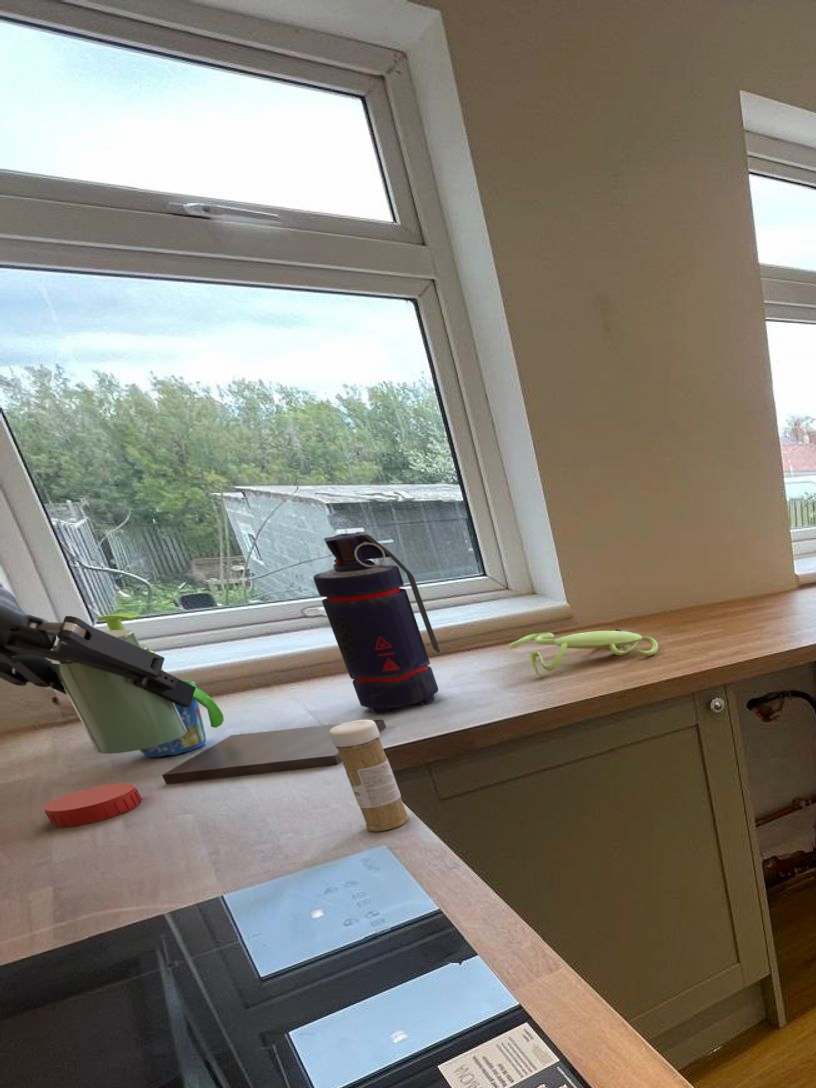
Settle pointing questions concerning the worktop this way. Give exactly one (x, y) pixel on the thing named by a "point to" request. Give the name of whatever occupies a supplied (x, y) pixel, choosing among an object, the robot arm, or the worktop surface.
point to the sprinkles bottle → (369, 774)
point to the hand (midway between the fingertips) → (151, 699)
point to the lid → (92, 804)
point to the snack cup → (189, 726)
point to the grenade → (376, 624)
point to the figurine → (587, 644)
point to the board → (262, 754)
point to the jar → (118, 706)
